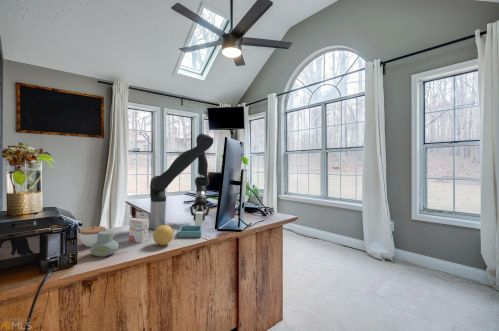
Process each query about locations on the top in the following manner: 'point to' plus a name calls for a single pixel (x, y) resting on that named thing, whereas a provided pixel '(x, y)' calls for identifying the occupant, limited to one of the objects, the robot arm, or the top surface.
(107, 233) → the air freshener
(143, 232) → the ink cartridge box
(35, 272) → the top surface
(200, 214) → the stop block
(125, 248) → the top surface
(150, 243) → the top surface
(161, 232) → the stress ball
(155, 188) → the robot arm
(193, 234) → the tray
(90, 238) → the lidded jar
